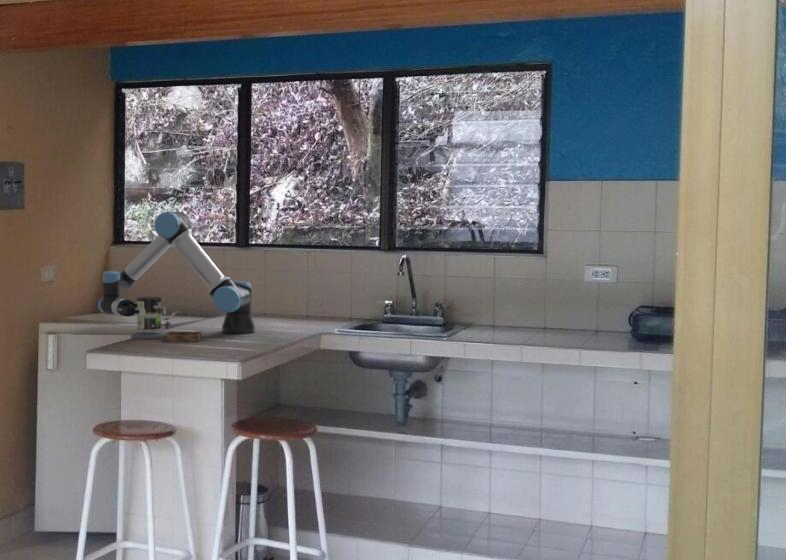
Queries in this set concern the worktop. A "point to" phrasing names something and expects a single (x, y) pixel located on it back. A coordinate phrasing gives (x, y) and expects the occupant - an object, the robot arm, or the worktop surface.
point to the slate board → (147, 335)
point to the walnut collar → (182, 336)
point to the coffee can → (149, 314)
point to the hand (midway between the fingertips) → (155, 311)
